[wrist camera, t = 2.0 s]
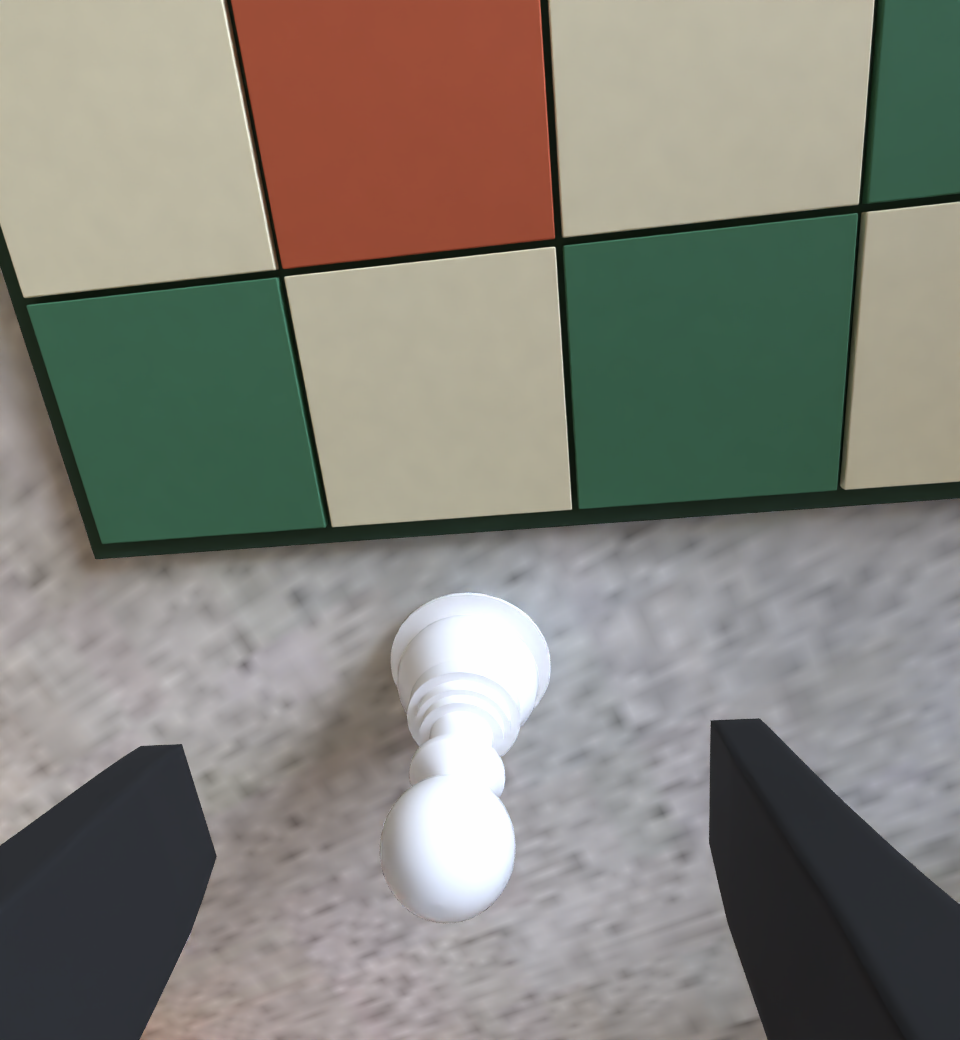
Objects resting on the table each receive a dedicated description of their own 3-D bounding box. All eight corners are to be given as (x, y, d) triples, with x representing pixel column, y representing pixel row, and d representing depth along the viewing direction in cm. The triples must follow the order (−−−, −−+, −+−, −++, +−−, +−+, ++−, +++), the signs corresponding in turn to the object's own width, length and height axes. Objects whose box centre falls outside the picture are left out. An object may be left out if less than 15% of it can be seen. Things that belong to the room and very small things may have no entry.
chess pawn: (533, 574, 12) (533, 782, 8) (563, 712, 13) (579, 970, 9) (374, 602, 13) (281, 815, 8) (414, 733, 14) (352, 991, 9)
